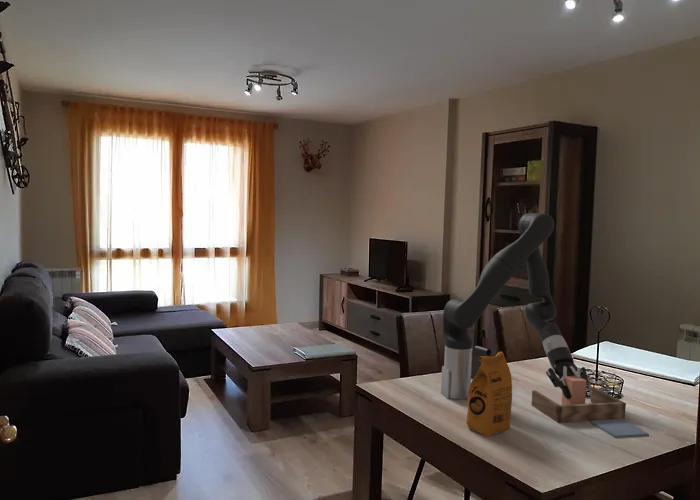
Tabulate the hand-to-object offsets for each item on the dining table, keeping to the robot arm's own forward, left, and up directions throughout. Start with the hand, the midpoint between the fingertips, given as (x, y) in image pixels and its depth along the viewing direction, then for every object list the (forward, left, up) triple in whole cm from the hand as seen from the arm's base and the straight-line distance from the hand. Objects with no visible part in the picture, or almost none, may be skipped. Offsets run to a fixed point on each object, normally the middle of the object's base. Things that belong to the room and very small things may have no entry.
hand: (577, 397), depth 167 cm
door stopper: (-15, +38, -5) cm, 41 cm away
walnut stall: (0, 0, -5) cm, 5 cm away
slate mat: (+4, -14, -5) cm, 16 cm away
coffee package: (-35, -8, -5) cm, 36 cm away
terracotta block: (0, +2, -4) cm, 5 cm away
